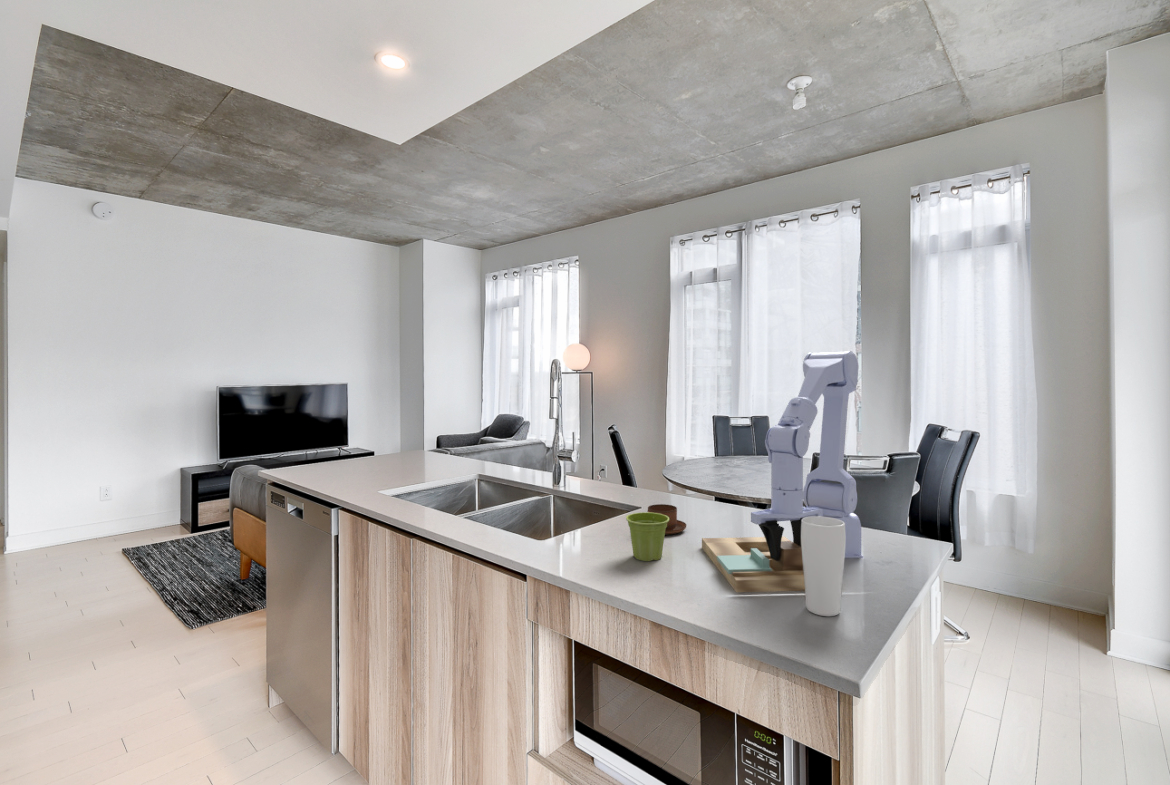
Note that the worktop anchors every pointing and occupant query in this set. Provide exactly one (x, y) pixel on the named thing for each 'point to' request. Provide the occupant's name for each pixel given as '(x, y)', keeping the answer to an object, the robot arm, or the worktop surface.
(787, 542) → the block
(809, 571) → the drinking glass
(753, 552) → the lid
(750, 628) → the worktop surface
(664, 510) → the cup and saucer
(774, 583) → the board
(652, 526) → the plant pot
